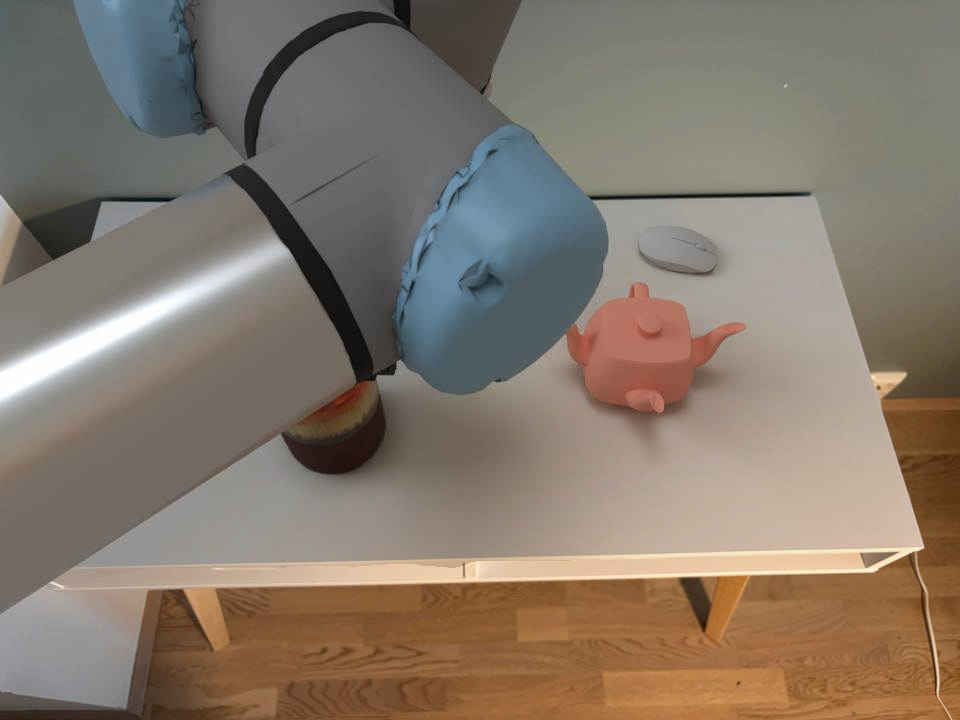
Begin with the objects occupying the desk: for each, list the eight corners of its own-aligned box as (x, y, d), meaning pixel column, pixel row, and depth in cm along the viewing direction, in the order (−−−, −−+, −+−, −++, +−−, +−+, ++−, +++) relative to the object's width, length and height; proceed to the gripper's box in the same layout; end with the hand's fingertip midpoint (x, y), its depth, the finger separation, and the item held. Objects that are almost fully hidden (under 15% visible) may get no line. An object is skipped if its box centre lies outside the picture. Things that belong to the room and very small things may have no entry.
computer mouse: (713, 280, 90) (720, 265, 88) (633, 265, 91) (638, 250, 89) (716, 243, 93) (723, 228, 91) (638, 230, 94) (643, 214, 92)
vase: (281, 395, 82) (229, 288, 64) (377, 376, 83) (352, 266, 65) (291, 485, 76) (238, 395, 59) (393, 463, 78) (371, 368, 60)
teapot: (718, 374, 84) (750, 322, 74) (638, 455, 79) (662, 410, 69) (621, 299, 89) (639, 241, 79) (540, 370, 84) (549, 317, 74)
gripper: (493, 311, 38) (409, 444, 56) (446, -21, 48) (388, 183, 67) (348, 305, 36) (310, 446, 54) (331, -42, 46) (304, 175, 64)
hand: (353, 301), depth 60 cm, fingers open, 13 cm apart
